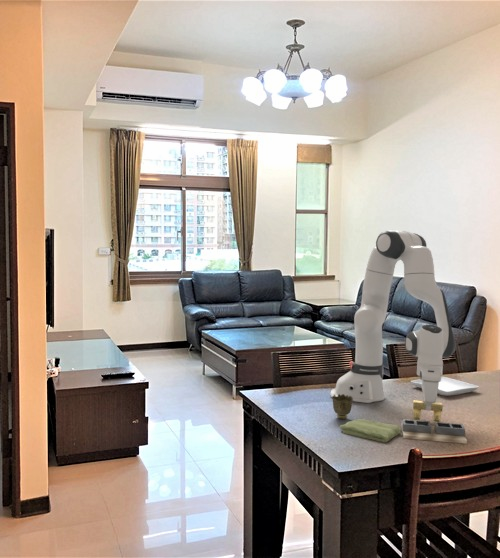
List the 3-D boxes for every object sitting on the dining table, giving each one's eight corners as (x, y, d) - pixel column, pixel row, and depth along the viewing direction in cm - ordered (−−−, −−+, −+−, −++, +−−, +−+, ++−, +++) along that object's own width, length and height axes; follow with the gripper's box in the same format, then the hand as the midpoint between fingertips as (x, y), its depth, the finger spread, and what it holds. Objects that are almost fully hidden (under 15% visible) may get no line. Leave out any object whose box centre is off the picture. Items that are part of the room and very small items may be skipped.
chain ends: (402, 431, 192) (403, 424, 192) (401, 426, 197) (402, 419, 197) (465, 436, 188) (465, 429, 188) (462, 431, 193) (462, 424, 193)
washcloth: (355, 423, 204) (355, 414, 203) (402, 434, 193) (402, 425, 193) (337, 433, 193) (338, 423, 193) (386, 445, 182) (386, 435, 182)
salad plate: (441, 382, 264) (441, 375, 264) (480, 393, 246) (480, 385, 246) (408, 387, 253) (409, 380, 253) (447, 399, 235) (447, 391, 235)
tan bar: (412, 419, 205) (413, 402, 204) (412, 417, 208) (413, 400, 207) (441, 422, 203) (442, 405, 202) (440, 420, 205) (441, 402, 205)
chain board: (403, 438, 188) (403, 435, 188) (401, 425, 201) (401, 422, 201) (466, 443, 184) (466, 440, 184) (460, 430, 197) (460, 427, 197)
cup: (339, 422, 203) (340, 400, 202) (327, 416, 209) (328, 395, 209) (356, 419, 206) (357, 398, 206) (344, 414, 213) (344, 393, 212)
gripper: (418, 363, 214) (416, 399, 216) (422, 376, 195) (420, 415, 196) (436, 365, 213) (434, 400, 214) (441, 378, 193) (439, 417, 194)
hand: (427, 408), depth 205 cm, fingers closed on tan bar, 3 cm apart
